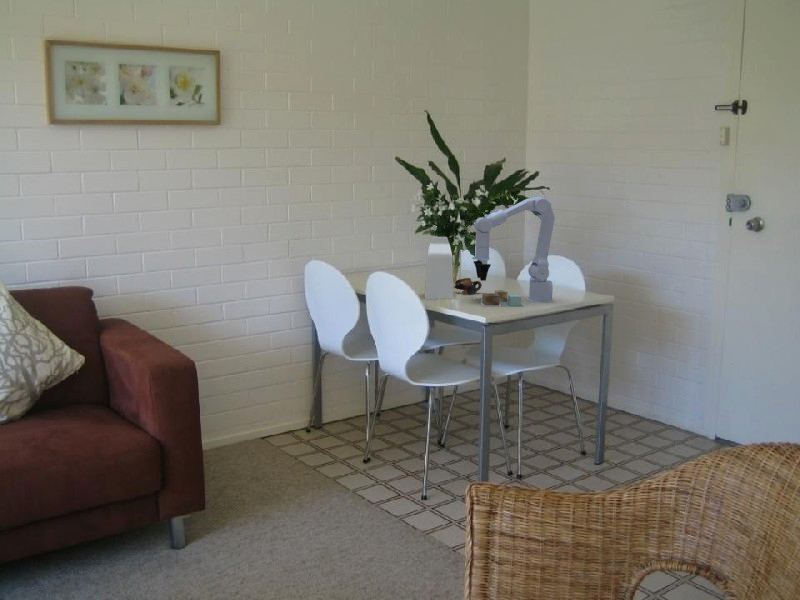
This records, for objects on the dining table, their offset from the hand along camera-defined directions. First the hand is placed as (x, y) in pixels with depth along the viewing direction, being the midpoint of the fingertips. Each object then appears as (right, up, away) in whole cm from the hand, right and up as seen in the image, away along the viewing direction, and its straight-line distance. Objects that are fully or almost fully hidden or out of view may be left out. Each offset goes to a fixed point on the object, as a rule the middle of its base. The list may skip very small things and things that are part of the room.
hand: (481, 279), depth 373 cm
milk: (-17, -8, +13) cm, 23 cm away
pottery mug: (-4, -6, +21) cm, 23 cm away
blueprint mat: (+7, -10, -2) cm, 13 cm away
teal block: (+13, -11, -7) cm, 18 cm away
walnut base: (+3, -10, -6) cm, 12 cm away
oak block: (+9, -9, +4) cm, 13 cm away
